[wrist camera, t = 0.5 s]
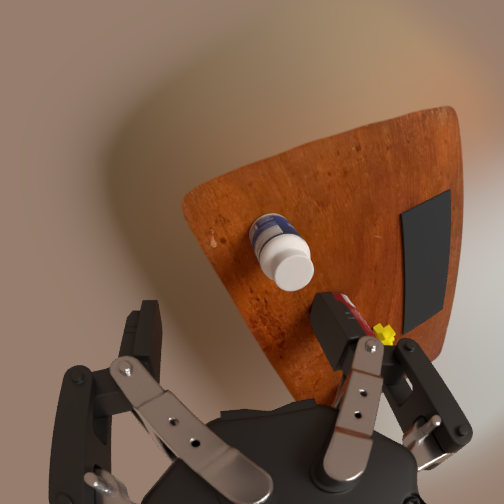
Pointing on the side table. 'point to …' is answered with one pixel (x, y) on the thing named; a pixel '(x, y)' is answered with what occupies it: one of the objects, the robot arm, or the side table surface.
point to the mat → (425, 258)
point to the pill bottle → (281, 252)
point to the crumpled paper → (384, 334)
